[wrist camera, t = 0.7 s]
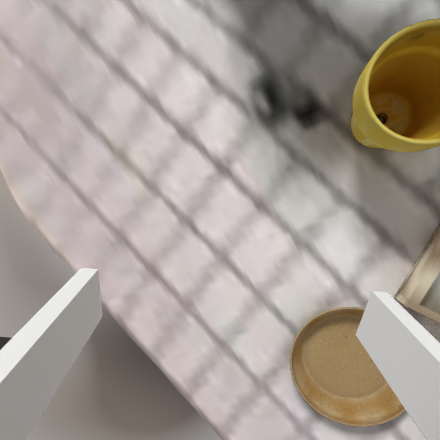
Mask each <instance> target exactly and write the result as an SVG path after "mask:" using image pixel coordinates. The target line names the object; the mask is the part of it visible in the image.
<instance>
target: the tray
mask: <svg viewBox="0 0 440 440" xmlns="http://www.w3.org/2000/svg"><path fill="white" fill-rule="evenodd" d="M394 298H395V299H397V300H398V301H400V302H401V303H403V304H404V305H405V306H407V307H408V308H410V309H412V310H414V311H416V312H418V313H420V314H422V315H424V316H426V317H428V318H430V319H432V320H434V321H436V322H438V323H440V224H439V226H438V227H437V229H436V230H435V232H434V234H433V235H432V237H431V239H430V240H429V242H428V243H427V245H426V247H425V248H424V250H423V252H422V253H421V255H420V256H419V258H418V260H417V261H416V263H415V265H414V266H413V268H412V269H411V271H410V273H409V274H408V276H407V278H406V279H405V281H404V282H403V284H402V286H401V287H400V289H399V290H398V292H397V294H396V295H395V297H394Z"/></svg>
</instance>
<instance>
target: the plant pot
mask: <svg viewBox="0 0 440 440" xmlns="http://www.w3.org/2000/svg"><path fill="white" fill-rule="evenodd" d="M352 106H353V112H352V116H351V120H350V126H351V131H352V133H353V136H354V137H355V139H356V140H357V141H358V142H359V143H361V144H362V145H364V146H367V147H370V148H384V149H388V150H391V151H396V152H416V151H422V150H426V149H430V148H433V147H436V146H439V145H440V19H432V20H426V21H422V22H418V23H416V24H413V25H410V26H408V27H406V28H404V29H402V30H400V31H399V32H397V33H395V34H394V35H393V36H391V37H390V38H389V39H388V40H387V41H385V42H384V43H383V44H382V45H381V46H380V48H379V49H378V50H377V51H376V52H375V54H374V55H373V56H372V58H371V59H370V61H369V62H368V64H367V65H366V67H365V68H364V70H363V72H362V73H361V75H360V77H359V79H358V81H357V83H356V86H355V89H354V93H353V103H352ZM378 115H381V116H383V117H384V118H385V123H384V124H382V123H381V121H380V120H379V119H378V118H377V116H378Z"/></svg>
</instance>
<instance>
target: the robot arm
mask: <svg viewBox="0 0 440 440" xmlns="http://www.w3.org/2000/svg"><path fill="white" fill-rule="evenodd" d="M101 318H102V308H101V295H100V284H99V273H98V269H87V268H81V269H80V270H79V271H78V272H77V273H76V274H75V275H74V276H73V277H72V278H71V279H70V280H69V281H68V282H67V283H66V284H65V285H64V286H63V287H62V288H61V289H60V290H59V291H58V292H57V293H56V294H55V295H54V297H52V298H51V299H50V300H49V301H48V302H47V303H46V304H45V305H44V307H42V309H40V310H39V311H38V312H37V313H36V314H35V316H34V317H32V319H31V320H30V321H29V322H28V323H27V324H26V325H25V326H24V327H23V328H22V329H21V330H20V331H19V332H18V333H17V334H16V335H15V336H14V337H13V338H6V337H0V440H26V439H27V437H28V435H29V434H30V432H31V431H32V429H33V427H34V426H35V424H36V423H37V421H38V419H39V418H40V416H41V414H42V413H43V411H44V410H45V408H46V406H47V405H48V403H49V402H50V400H51V398H52V397H53V395H54V393H55V392H56V390H57V388H58V387H59V386H60V384H61V382H62V381H63V379H64V377H65V376H66V374H67V373H68V371H69V369H70V368H71V366H72V365H73V363H74V361H75V360H76V358H77V357H78V355H79V353H80V352H81V350H82V349H83V347H84V345H85V344H86V342H87V340H88V339H89V337H90V336H91V334H92V332H93V331H94V329H95V328H96V326H97V324H98V323H99V321H100V320H101ZM356 336H357V338H358V339H359V341H360V342H361V344H362V345H363V347H364V348H365V350H366V351H367V353H368V354H369V356H370V357H371V359H372V360H373V362H374V363H375V365H376V366H377V368H378V369H379V371H380V372H381V374H382V375H383V377H384V378H385V380H386V381H387V383H388V384H389V386H390V387H391V389H392V390H393V392H394V393H395V394H396V396H397V397H398V399H399V400H400V402H401V403H402V405H403V406H404V408H405V409H406V411H407V412H408V414H409V415H410V417H411V418H412V420H413V421H414V423H415V424H416V426H417V427H418V429H419V430H420V432H421V433H422V435H423V436H424V438H425V439H426V440H440V343H439V342H438V341H437V340H436V339H435V338H434V337H433V336H432V335H431V334H430V333H429V332H428V331H427V330H426V329H425V328H424V327H423V326H422V325H421V324H420V323H419V322H417V321H416V320H415V319H414V318H413V317H412V316H411V315H410V314H409V313H408V312H407V311H406V310H405V309H404V308H403V307H402V306H401V305H400V304H399V303H398V302H397V301H396V300H395V299H394V298H393V297H392V296H391V295H390V294H388V293H387V292H378V291H372V292H371V295H370V297H369V300H368V303H367V305H366V308H365V311H364V313H363V316H362V319H361V321H360V324H359V327H358V329H357V332H356Z"/></svg>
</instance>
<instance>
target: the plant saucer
mask: <svg viewBox="0 0 440 440" xmlns="http://www.w3.org/2000/svg"><path fill="white" fill-rule="evenodd" d="M364 311H365V309H363V308H355V307H343V308H335V309H331V310H328V311H325V312H322V313H320V314H319V315H317V316H315V317H314V318H312V319H311V320H309V321H308V322H307V323H306V324H305V325H304V326H303V327H302V328H301V330H300V331H299V332H298V334H297V336H296V337H295V340H294V342H293V344H292V348H291V353H290V369H291V374H292V377H293V381H294V383H295V385H296V388H297V389H298V391H299V393H300V394H301V396H302V397H303V398H304V400H305V401H306V402H307V403H308V404H309V405H310V406H311V407H312V408H313V409H314V410H316V411H317V412H318V413H320V414H321V415H323V416H324V417H326V418H328V419H330V420H333V421H335V422H338V423H340V424H344V425H349V426H357V427H369V426H375V425H380V424H383V423H386V422H388V421H391V420H393V419H395V418H397V417H398V416H400V415H401V414H403V413H404V412H405V411H406V409H405V408H404V406H403V405H402V403H401V402H400V400H399V399H398V397H397V396H396V394H395V393H394V392H393V390H392V389H391V387H390V386H389V384H388V383H387V381H386V380H385V378H384V377H383V375H382V374H381V372H380V371H379V369H378V368H377V366H376V365H375V363H374V362H373V360H372V359H371V357H370V356H369V354H368V353H367V351H366V350H365V348H364V347H363V345H362V344H361V342H360V341H359V339H358V338H357V336H356V332H357V329H358V327H359V324H360V321H361V319H362V316H363V313H364Z"/></svg>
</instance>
